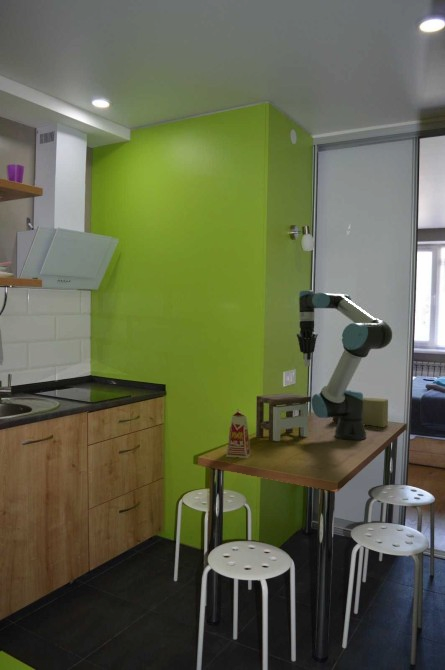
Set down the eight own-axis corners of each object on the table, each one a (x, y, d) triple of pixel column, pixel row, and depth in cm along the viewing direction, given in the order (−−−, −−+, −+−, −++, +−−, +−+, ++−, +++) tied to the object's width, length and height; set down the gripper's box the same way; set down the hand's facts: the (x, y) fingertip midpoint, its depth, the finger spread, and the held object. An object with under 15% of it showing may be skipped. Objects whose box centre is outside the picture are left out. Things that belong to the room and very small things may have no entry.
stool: (310, 437, 262) (311, 396, 261) (276, 442, 249) (277, 400, 248) (289, 431, 274) (289, 393, 274) (256, 436, 262) (256, 396, 261)
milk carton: (247, 458, 220) (247, 410, 219) (225, 457, 222) (226, 409, 221) (250, 453, 229) (251, 406, 228) (229, 451, 231) (230, 406, 230)
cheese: (343, 423, 297) (344, 397, 297) (349, 421, 305) (349, 395, 305) (383, 428, 285) (383, 400, 285) (388, 425, 294) (388, 398, 293)
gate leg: (307, 436, 261) (307, 403, 261) (276, 441, 249) (276, 407, 249) (303, 435, 263) (304, 403, 263) (272, 440, 251) (273, 406, 251)
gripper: (292, 320, 277) (293, 365, 277) (311, 320, 267) (311, 366, 267) (302, 320, 282) (303, 365, 282) (321, 320, 272) (321, 366, 272)
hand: (307, 366), depth 275 cm, fingers closed
